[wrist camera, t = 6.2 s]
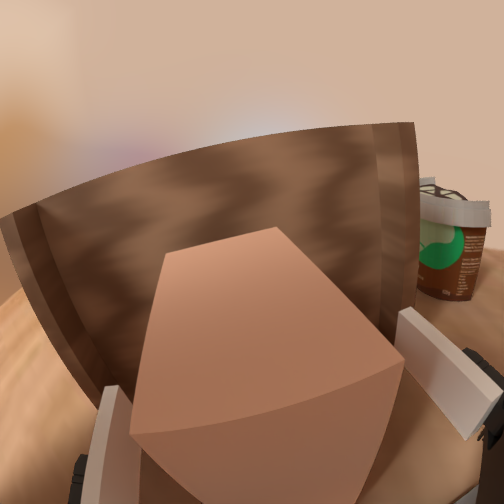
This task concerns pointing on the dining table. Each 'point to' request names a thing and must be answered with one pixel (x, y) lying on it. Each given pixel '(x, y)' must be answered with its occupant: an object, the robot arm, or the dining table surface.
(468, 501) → the slate mat
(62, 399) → the dining table surface
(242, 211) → the brown wooden board
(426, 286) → the food container
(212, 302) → the carton
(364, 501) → the dining table surface
